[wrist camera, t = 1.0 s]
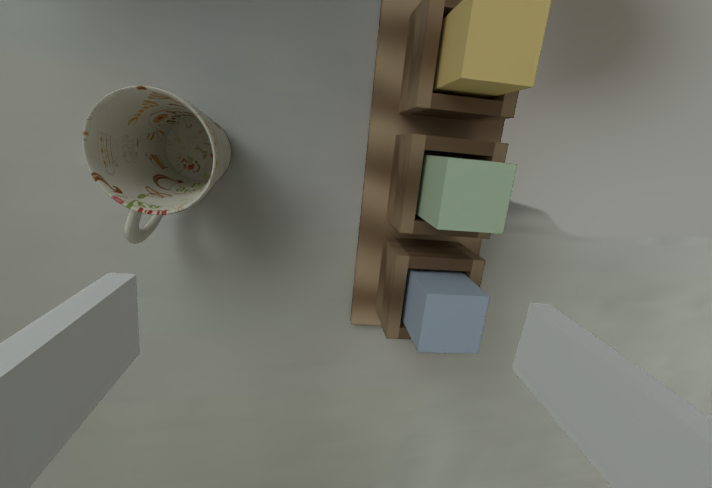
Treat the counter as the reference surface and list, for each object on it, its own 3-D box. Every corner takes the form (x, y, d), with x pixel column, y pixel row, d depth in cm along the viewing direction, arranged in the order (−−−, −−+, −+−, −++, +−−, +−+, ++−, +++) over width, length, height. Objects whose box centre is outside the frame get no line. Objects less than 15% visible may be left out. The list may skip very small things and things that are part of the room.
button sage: (419, 154, 31) (448, 157, 24) (474, 159, 31) (517, 164, 25) (412, 211, 32) (437, 229, 25) (464, 214, 33) (502, 233, 26)
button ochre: (437, 24, 28) (475, -13, 21) (496, 32, 29) (551, 0, 22) (428, 92, 30) (461, 77, 23) (485, 98, 30) (533, 86, 23)
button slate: (404, 263, 33) (426, 293, 27) (455, 266, 34) (489, 296, 27) (398, 311, 35) (417, 352, 28) (447, 313, 35) (477, 353, 29)
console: (382, -11, 31) (400, -53, 24) (521, 10, 33) (574, -24, 26) (350, 320, 40) (357, 357, 33) (461, 324, 41) (490, 359, 35)
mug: (258, 129, 33) (234, 124, 24) (208, 246, 36) (169, 285, 26) (168, 84, 31) (103, 58, 22) (123, 211, 34) (47, 238, 24)
